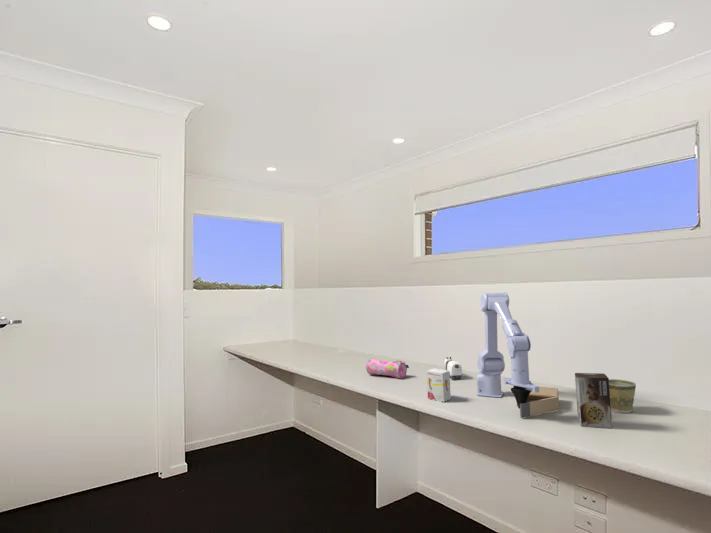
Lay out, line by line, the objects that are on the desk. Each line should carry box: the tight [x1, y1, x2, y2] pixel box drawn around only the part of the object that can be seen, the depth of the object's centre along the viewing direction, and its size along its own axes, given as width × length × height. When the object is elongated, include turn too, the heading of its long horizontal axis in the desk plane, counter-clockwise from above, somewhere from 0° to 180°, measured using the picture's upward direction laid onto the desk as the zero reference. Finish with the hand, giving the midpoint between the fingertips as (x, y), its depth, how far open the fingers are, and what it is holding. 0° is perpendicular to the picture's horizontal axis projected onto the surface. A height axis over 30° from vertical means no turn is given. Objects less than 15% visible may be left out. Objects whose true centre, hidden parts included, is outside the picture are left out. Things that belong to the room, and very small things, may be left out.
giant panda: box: [443, 356, 463, 381], centre depth 209 cm, size 15×6×10 cm, turn 9°
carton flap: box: [519, 396, 560, 419], centre depth 148 cm, size 18×1×5 cm, turn 114°
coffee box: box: [574, 372, 613, 429], centre depth 137 cm, size 9×6×16 cm
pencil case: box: [365, 357, 410, 380], centre depth 216 cm, size 21×9×9 cm, turn 55°
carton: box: [516, 386, 559, 407], centre depth 161 cm, size 14×12×5 cm
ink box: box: [426, 367, 452, 403], centre depth 172 cm, size 9×5×12 cm, turn 41°
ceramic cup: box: [609, 378, 637, 414], centre depth 150 cm, size 13×10×10 cm
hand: (521, 408), depth 147 cm, fingers closed
